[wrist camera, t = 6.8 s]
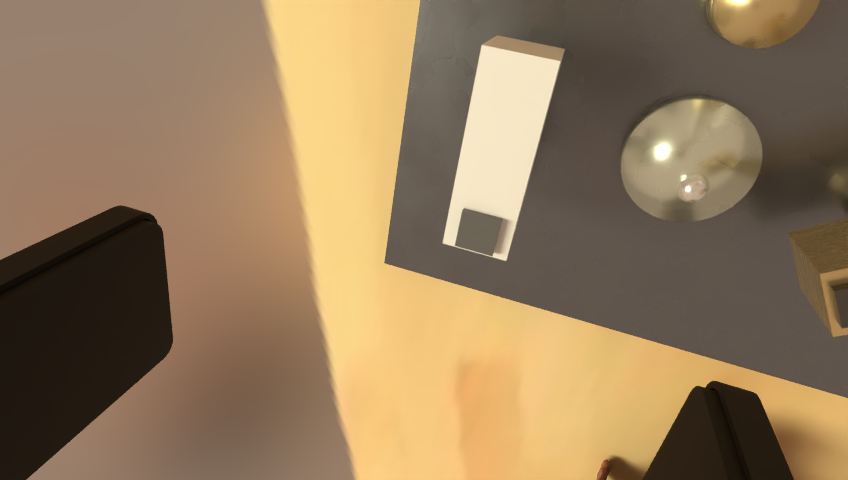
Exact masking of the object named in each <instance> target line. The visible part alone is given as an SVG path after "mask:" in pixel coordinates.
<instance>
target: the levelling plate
mask: <svg viewBox="0 0 848 480" xmlns="http://www.w3.org/2000/svg"><path fill="white" fill-rule="evenodd" d="M497 35H499V36H504V37H509V38H514V39H519V40H523V41H528V42H533V43H538V44H543V45H548V46H553V47H558V48H563V49H565V51H564V55H563V58H562V62H561V66H560V69H559V73H558V77H557V80H556V84H555V88H554V91H553V95H552V99H551V102H550V106H549V109H548V113H547V117H546V120H545V124H544V128H543V131H542V135H541V139H540V142H539V146H538V150H537V153H536V157H535V161H534V164H533V168H532V172H531V175H530V179H529V183H528V186H527V190H526V194H525V197H524V201H523V205H522V208H521V212H520V216H519V219H518V223H517V226H516V230H515V233H514V237H513V240H512V243H511V247H510V250H509V253H508V257H507V260H506V261H504V260H501V259H497V258H493V257H490V256H486V255H483V254H479V253H476V252H472V251H468V250H465V249H461V248H458V247H454V246H450V245H447V244H443V238H444V233H445V228H446V223H447V218H448V213H449V208H450V203H451V198H452V193H453V188H454V183H455V178H456V172H457V167H458V162H459V157H460V152H461V147H462V142H463V137H464V132H465V127H466V122H467V117H468V112H469V107H470V101H471V96H472V91H473V86H474V81H475V76H476V71H477V66H478V61H479V56H480V51H481V46H482V44H484V43H485V42H487V41H489V40H490V39H492V38H493V37H495V36H497ZM847 218H848V0H420V7H419V15H418V22H417V29H416V37H415V44H414V51H413V59H412V66H411V73H410V81H409V88H408V95H407V103H406V110H405V117H404V125H403V132H402V139H401V146H400V154H399V161H398V168H397V176H396V183H395V190H394V198H393V205H392V212H391V220H390V227H389V234H388V242H387V249H386V256H385V263H386V264H389V265H393V266H396V267H400V268H403V269H407V270H410V271H413V272H417V273H420V274H424V275H427V276H431V277H434V278H438V279H441V280H444V281H448V282H451V283H455V284H458V285H462V286H465V287H468V288H472V289H475V290H479V291H482V292H486V293H489V294H492V295H496V296H499V297H503V298H506V299H510V300H513V301H517V302H520V303H523V304H527V305H530V306H534V307H537V308H541V309H544V310H547V311H551V312H554V313H558V314H561V315H565V316H568V317H571V318H575V319H578V320H582V321H585V322H589V323H592V324H596V325H599V326H602V327H606V328H609V329H613V330H616V331H620V332H623V333H626V334H630V335H633V336H637V337H640V338H644V339H647V340H651V341H654V342H657V343H661V344H664V345H668V346H671V347H675V348H678V349H681V350H685V351H688V352H692V353H695V354H699V355H702V356H705V357H709V358H712V359H716V360H719V361H723V362H726V363H730V364H733V365H736V366H740V367H743V368H747V369H750V370H754V371H757V372H760V373H764V374H767V375H771V376H774V377H778V378H781V379H784V380H788V381H791V382H795V383H798V384H802V385H805V386H809V387H812V388H815V389H819V390H822V391H826V392H829V393H833V394H836V395H839V396H843V397H846V398H848V335H842V336H836V337H833V336H832V335H831V333H830V332H829V330H828V329H827V327H826V326H825V324H824V323H823V321H822V320H821V318H820V317H819V315H818V314H817V312H816V311H815V309H814V308H813V306H812V305H811V303H810V302H809V300H808V299H807V297H806V296H805V294H804V293H803V291H802V290H801V288H800V284H799V279H798V275H797V271H796V266H795V262H794V257H793V253H792V248H791V244H790V240H789V235H788V232H792V231H796V230H800V229H805V228H809V227H813V226H817V225H822V224H826V223H830V222H834V221H839V220H843V219H847Z"/></svg>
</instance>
